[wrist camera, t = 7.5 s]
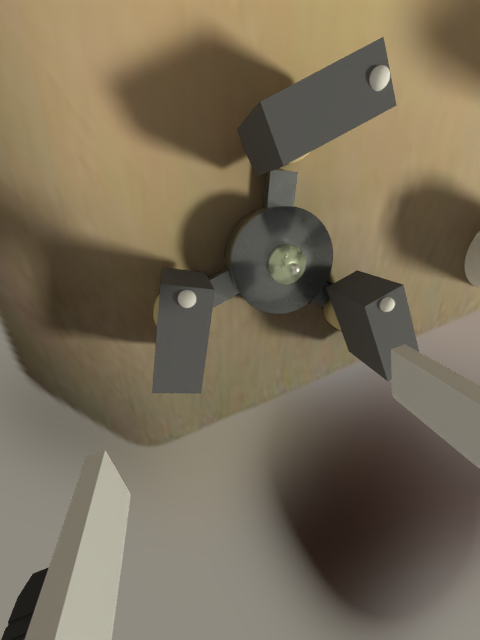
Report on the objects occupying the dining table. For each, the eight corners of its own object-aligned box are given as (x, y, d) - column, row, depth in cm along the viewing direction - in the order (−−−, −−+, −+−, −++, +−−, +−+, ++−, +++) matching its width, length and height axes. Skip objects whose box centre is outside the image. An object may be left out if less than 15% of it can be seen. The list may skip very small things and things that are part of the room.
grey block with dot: (229, 130, 23) (260, 88, 15) (315, 84, 24) (389, 20, 16) (251, 184, 25) (289, 172, 17) (331, 141, 25) (405, 110, 17)
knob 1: (151, 345, 28) (145, 397, 20) (157, 262, 25) (152, 285, 18) (197, 347, 29) (207, 398, 21) (206, 268, 27) (223, 292, 19)
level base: (164, 225, 25) (163, 228, 20) (287, 159, 25) (312, 148, 21) (235, 350, 30) (247, 373, 26) (334, 294, 31) (362, 308, 26)
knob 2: (335, 345, 33) (388, 387, 25) (312, 285, 30) (364, 311, 22) (368, 326, 33) (431, 362, 25) (349, 264, 30) (414, 283, 22)
